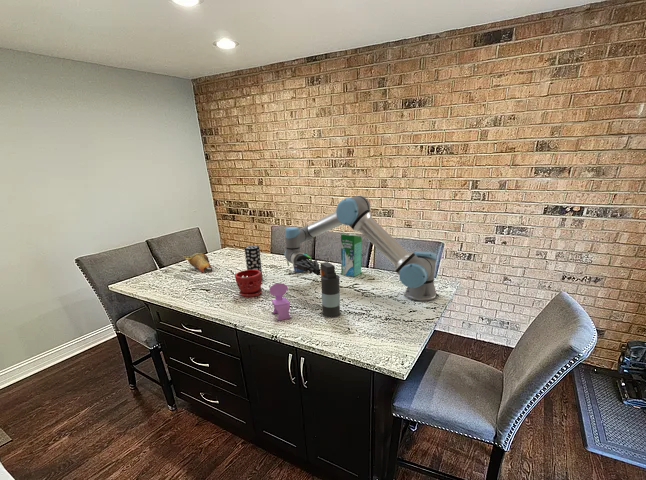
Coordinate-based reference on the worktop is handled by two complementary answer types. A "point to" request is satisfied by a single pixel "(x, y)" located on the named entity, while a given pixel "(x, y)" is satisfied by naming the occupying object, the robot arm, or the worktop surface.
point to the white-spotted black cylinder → (253, 258)
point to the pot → (198, 261)
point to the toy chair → (280, 301)
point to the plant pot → (249, 282)
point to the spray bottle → (330, 291)
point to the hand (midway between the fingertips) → (318, 272)
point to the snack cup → (298, 269)
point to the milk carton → (350, 254)
